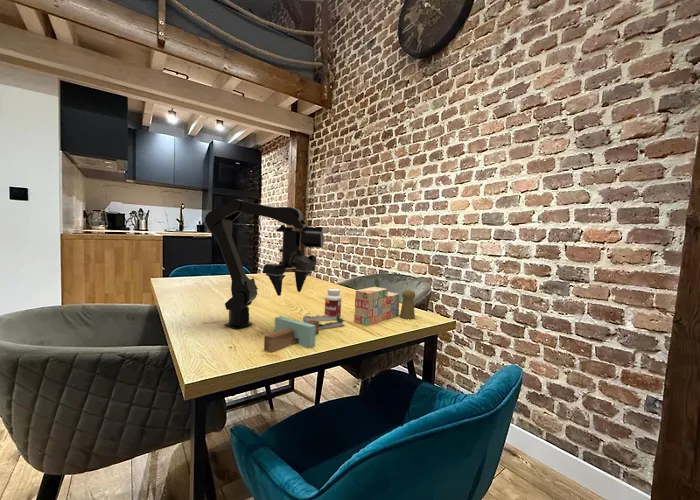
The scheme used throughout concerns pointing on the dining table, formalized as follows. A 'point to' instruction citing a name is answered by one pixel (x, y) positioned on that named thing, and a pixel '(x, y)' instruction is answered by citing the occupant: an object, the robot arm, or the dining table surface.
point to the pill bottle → (333, 303)
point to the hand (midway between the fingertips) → (289, 293)
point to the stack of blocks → (375, 305)
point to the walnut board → (284, 338)
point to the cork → (408, 305)
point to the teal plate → (297, 330)
